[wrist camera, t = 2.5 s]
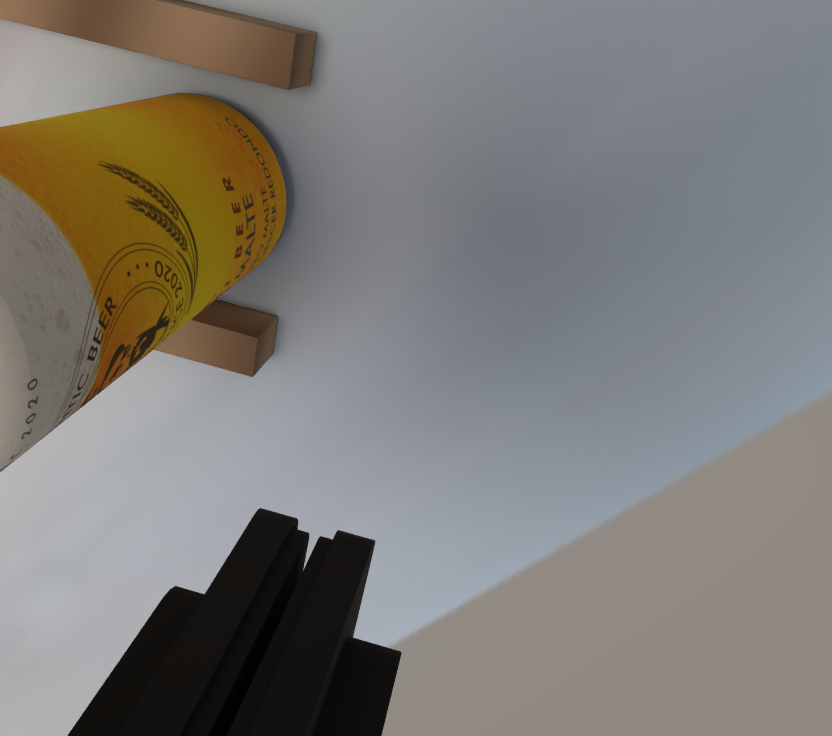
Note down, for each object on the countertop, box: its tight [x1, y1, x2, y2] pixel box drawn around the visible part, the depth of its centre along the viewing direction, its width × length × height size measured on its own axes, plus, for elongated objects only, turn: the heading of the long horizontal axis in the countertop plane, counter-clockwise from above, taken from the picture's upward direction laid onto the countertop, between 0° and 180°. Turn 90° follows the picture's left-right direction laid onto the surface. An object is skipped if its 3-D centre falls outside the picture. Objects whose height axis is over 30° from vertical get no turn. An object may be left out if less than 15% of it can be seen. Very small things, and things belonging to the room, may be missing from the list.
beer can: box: [0, 93, 286, 472], centre depth 19 cm, size 6×6×15 cm
